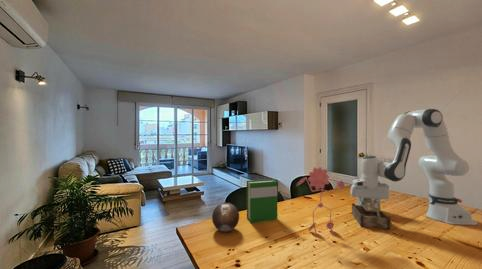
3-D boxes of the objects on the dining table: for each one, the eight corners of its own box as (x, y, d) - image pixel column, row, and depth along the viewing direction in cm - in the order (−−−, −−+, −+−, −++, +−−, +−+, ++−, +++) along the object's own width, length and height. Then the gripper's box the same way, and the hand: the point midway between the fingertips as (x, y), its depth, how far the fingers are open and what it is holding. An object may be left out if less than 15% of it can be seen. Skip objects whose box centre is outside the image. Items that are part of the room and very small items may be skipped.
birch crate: (371, 205, 132) (371, 197, 132) (378, 212, 121) (378, 203, 121) (360, 204, 134) (360, 196, 134) (366, 210, 122) (366, 202, 122)
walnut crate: (376, 215, 136) (376, 205, 135) (390, 229, 116) (390, 217, 116) (351, 213, 139) (351, 203, 139) (360, 226, 120) (360, 214, 119)
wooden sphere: (214, 238, 107) (214, 209, 107) (210, 226, 121) (210, 200, 121) (242, 234, 111) (242, 206, 111) (235, 223, 125) (235, 198, 125)
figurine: (349, 234, 110) (347, 168, 111) (302, 237, 107) (301, 169, 108) (333, 223, 125) (332, 164, 126) (291, 225, 123) (290, 165, 123)
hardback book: (250, 223, 125) (250, 183, 125) (246, 218, 132) (246, 180, 132) (277, 219, 130) (277, 181, 130) (272, 215, 137) (272, 178, 137)
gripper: (386, 182, 128) (386, 205, 128) (349, 180, 133) (349, 202, 133) (391, 184, 122) (390, 208, 122) (352, 182, 127) (352, 205, 127)
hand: (369, 205), depth 127 cm, fingers closed on birch crate, 6 cm apart
